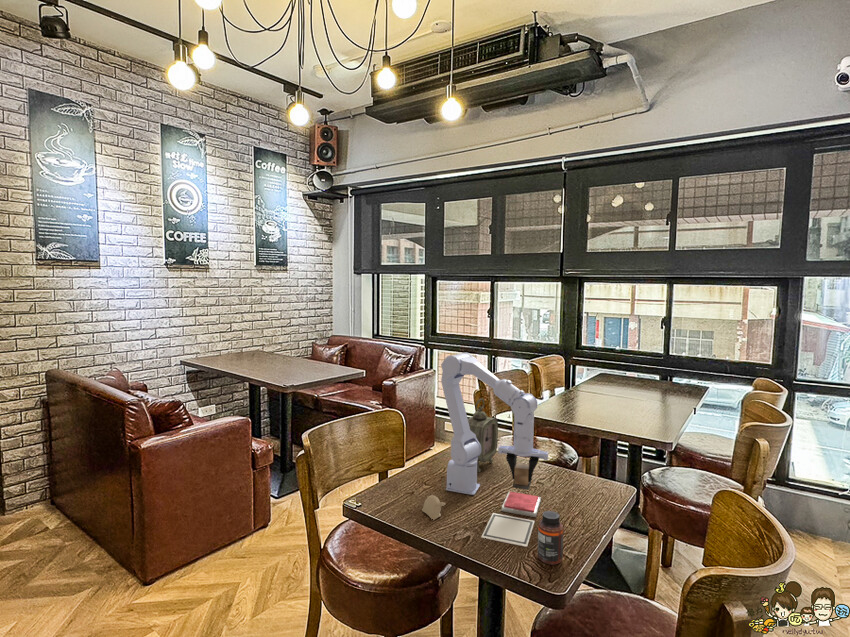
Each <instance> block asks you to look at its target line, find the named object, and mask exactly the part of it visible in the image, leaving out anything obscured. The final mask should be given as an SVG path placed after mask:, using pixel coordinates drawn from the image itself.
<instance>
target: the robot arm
mask: <svg viewBox="0 0 850 637" xmlns="http://www.w3.org/2000/svg"><path fill="white" fill-rule="evenodd" d="M440 366H441V369H442V370H441V371H442V372H441V380H440V381H441V386H442V389H443V390H442V392H443V394H444V398H445V402H446V407H447V410H448V415H449V420H450V424H451V427H452V432H453V436H452V439H451V440H450V446H451V447H450V448H451V449H450V457H451V459H449V461H448V463H447V468H446V488H445V490H446V491H447V492H455V493H458V494H459V493H460V494H463V495H464V494H465V495H470V496H475V495H476V493H477V491H478V489H479V488H480V487H481V483H478V472H477V460H478V456H479V455H480V454H481V445H480V443H479V442H478V440H477V438H476V435H475V434H474V433H473V432H472V431H471V430H470V427H469V423H468V415H467V411H466V407H465V403H464V399H463V395H462V391H461V386H460V382H461V381H462V379H463V377H464V376H465V375H467V376H468V375H472V376H474V377H475V378H477V379H478V380H480V381H481V382H483V383H485V384H486V385H487V386H489V387H490V388H491V389H492V390H493V394H494V396H496V397H497V398H499V399H500V400H501V401H503V402H504V403H505V404H506V405H508V406H509V407H510V410H511V411H512V413H513V417H514V418H513V419H514V420H513V422H514V423H513V445H499V446H497V448H498V451H497V453H498V454H499V455H502V454H504V455H505V454H506V457H505V458H506V461H507V463H508V466H509V469H510V472H511V475H512V477H511V478H512V480H514V472H515V466H516V464H517V458H518V457H522V458H523V457H525V458H529V460H528V464H529V477H528V482H531V483H532V479H533V473H534V470H535V469H536V466H537V464H538V462H539V461H540V460H544V461H548V459H549V451H544V450H540V449H537V448H534V431H535V430H534V428H535V427H534V426H535V411H536V410H537V409H538V400H537V398H536V397H535V396H534V395H533V394H532V393H528V392H526V393H525V391H524V390H523V389H521V390H520V388H518V387H517V386H515V385H514V384H512V383H513V382H512V381H511V380H510V379H506V378H503V379H499V377H497V376H496V375H494V374H493V373H492V372H491V371H490V370H489V369H487V368H486V367H485V366H484V365H483V364H482V363H481V362H479V360H478V359H477V357H475V356H473V355H472V354H471V353H469V352H462V353H458V354H453V355H447V356H446V357H445V358H444V360H443V361H442V362H441V364H440Z"/></svg>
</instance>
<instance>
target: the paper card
mask: <svg viewBox="0 0 850 637" xmlns="http://www.w3.org/2000/svg"><path fill="white" fill-rule="evenodd" d="M535 522H536V521H535V520H533V519H527V518H523V517H522V518H521V517H516V516H512V515H506V514H501V513H496V512H495V513H494V512H492V514H491V516H490V518H489V519H488V522H487V524H486V527H485V528H484V531H483V533H482V534H481V536H480V537H481V539H485V538H486V539H485V540H491V541H496V542H501V543H505V544H511V545H515V546H518V547H519V546H520V547H525V548H527V547H528V546H529V542H530V538H531V535H532V533H533V532H532V531H533V528H534V525H535Z"/></svg>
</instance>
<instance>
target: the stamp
mask: <svg viewBox="0 0 850 637" xmlns="http://www.w3.org/2000/svg"><path fill="white" fill-rule="evenodd" d="M528 477H529V463H528V464H527V463H521V462H516V466H515V472H514V479H513V484H512V488H514V489H522V490H525V491H527V490H530V487H531V483H532V481H531V482H528Z"/></svg>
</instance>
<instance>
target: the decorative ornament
mask: <svg viewBox="0 0 850 637" xmlns="http://www.w3.org/2000/svg"><path fill="white" fill-rule="evenodd" d="M445 506H446V502H442V501H440V499H439V497H437V496H436V495H433V494H431V495H429V496H427V497H426V499H425V501H424V502H423V505H422V509H421V510H422V511H421V512H423V513H425V514H426V515H427V516H429V518H430V519H431V520H432V519H433V520H432V521H435V520H437V519H438V518H439V517H441V514H442V513H440V512H441V510H442V507H445Z"/></svg>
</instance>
